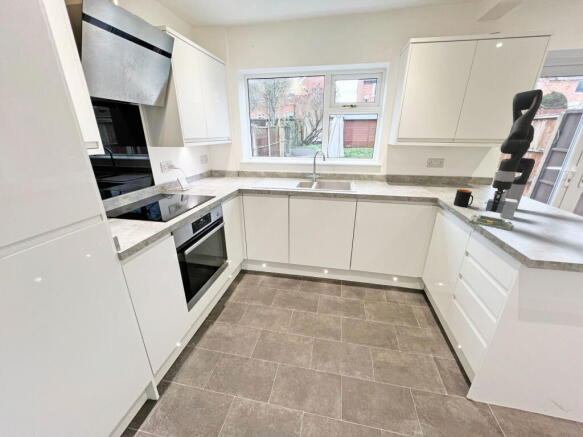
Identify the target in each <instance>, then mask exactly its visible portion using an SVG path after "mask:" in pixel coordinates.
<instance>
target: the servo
mask: <svg viewBox="0 0 583 437" xmlns="http://www.w3.org/2000/svg"><path fill="white" fill-rule="evenodd" d="M493 201H494V200H493V198H489V199H488V200H485V201H484V204H486V207H485V209H484V211H485V212H490V213H491V212H492V213H494V212H493V211H491V208H492V205H493V204H492V203H493ZM495 202H498V201H495ZM505 202H506V201H504V200H501V201H500V202H499V205H498V207H497V210H496V212H495V213H496V214H500V213H502V211H503V208H504V207H507V206H508V204H505Z"/></svg>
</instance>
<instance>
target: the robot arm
mask: <svg viewBox="0 0 583 437" xmlns="http://www.w3.org/2000/svg"><path fill="white" fill-rule="evenodd" d="M543 95H544V93H543V90H542V89H538V88H537V89H533V90H526V91H521V92H518V93H516V94H515V95H514V96H513V99H512V126H511V127H510V132H509V134H508V136H507V137H506V139H505V140H504V141H503V143H502V144H501V146H500V149H499V150H500V152H501V153H502V154H504V155H510V158H503V159H502V160H501V161H500V164H499V167H498V170H497V172H496V173H495V176H494V177H495V178H494V179H493V183H492V188H493V189H496V190H495V191H494V194H493V198H492V199H493V200H494V201H493V203H492V204H493V205H492V208H491V211H493V212H492V213H496V210H497V207H498V205H499V202H500V201H501V200H505V198H508V199H515V200H517V201H518V205H517V208H516V210H515V212H516V211H517V210H518V209H519V205H520V202H521V200H522V198H523V195H524V192H525V189H526V186H527V184H528V183H527V182H528V181H529V179H530V177H531V174H532V172H533V169H534V167H535V164H536V160H535V159H534V158H529V157H524V156H525V155H526V154H527V152H528V150H529V149H530V147H531V143H533V141H534V137H535V126H533V125H532V123H533V120H534V119H535V117H536V115H537V112H538V111H539V108H540V107H541V105H542V101H543ZM523 111H526V112H524V113H523ZM516 174H520V175H519V176H516ZM495 201H498V202H495Z"/></svg>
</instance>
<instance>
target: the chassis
mask: <svg viewBox="0 0 583 437" xmlns="http://www.w3.org/2000/svg"><path fill="white" fill-rule="evenodd" d="M468 223H472V224H477V225H480V224H481V226H485V225H486V227H490V226H491V228H494V227H496V229H499V228H501V229H500V230H504V229H506V230H505V231H509V230H510V231H512V226H513V222H512V221H509V220H508V221H506V219H505V218H500V217H499V218H497V217H495V216H494V217H492V216H487V215H482V214H479V215H476V214H473V215H471V216H470V218H469V220H468Z"/></svg>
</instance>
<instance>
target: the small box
mask: <svg viewBox="0 0 583 437" xmlns="http://www.w3.org/2000/svg"><path fill="white" fill-rule="evenodd" d="M504 201H506V202H505V204H508V206H507V207H504V208H503V211H502V213H499V218H500V217H501V218H500V219H506V218H507V219H508V220H513V218H514V215H515V212H516V211H517V210H516V208H517V205H518V201H517V200H515V199H508V198H505V200H504ZM518 206H519V205H518ZM517 209H518V208H517ZM515 210H516V211H515Z"/></svg>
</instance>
